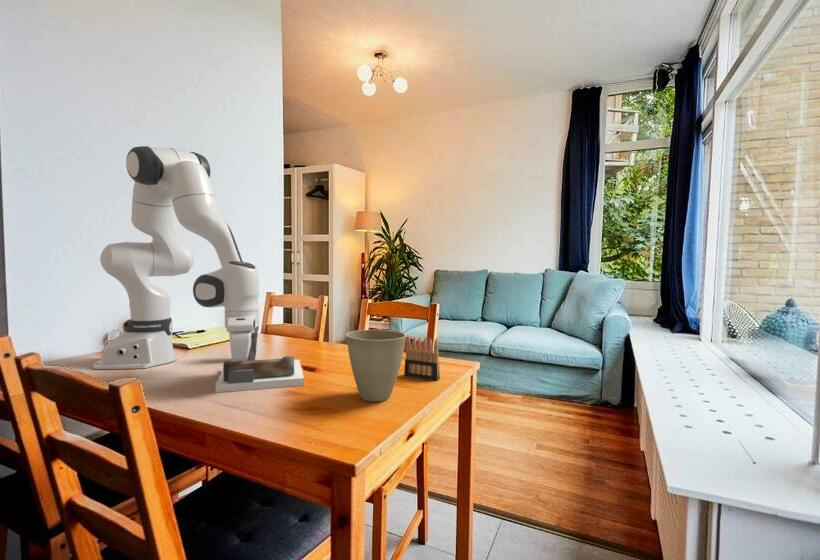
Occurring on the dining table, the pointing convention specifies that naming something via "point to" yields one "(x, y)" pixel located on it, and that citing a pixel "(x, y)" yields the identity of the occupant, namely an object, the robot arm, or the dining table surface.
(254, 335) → the beverage cup
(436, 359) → the ammunition clip
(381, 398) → the plant pot
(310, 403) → the dining table surface
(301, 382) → the shallow rectangular tray
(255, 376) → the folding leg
